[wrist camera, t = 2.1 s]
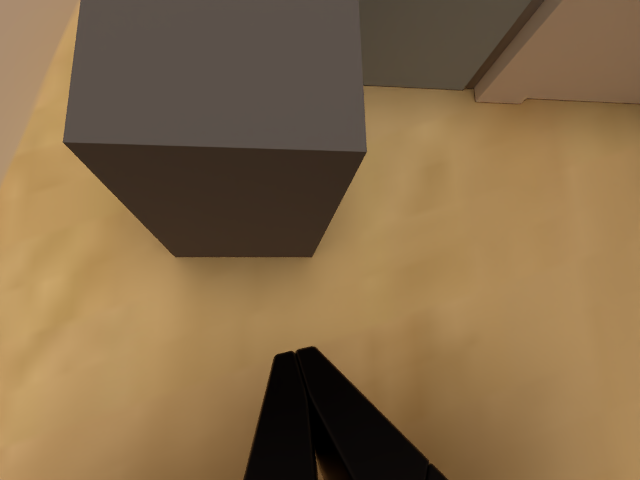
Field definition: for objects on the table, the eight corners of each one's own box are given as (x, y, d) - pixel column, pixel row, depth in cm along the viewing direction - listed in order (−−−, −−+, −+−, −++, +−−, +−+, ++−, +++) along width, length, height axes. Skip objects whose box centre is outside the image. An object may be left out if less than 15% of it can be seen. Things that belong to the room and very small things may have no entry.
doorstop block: (311, 257, 20) (366, 151, 9) (174, 256, 19) (62, 142, 8) (308, 117, 21) (352, -109, 11) (183, 112, 21) (97, -136, 10)
